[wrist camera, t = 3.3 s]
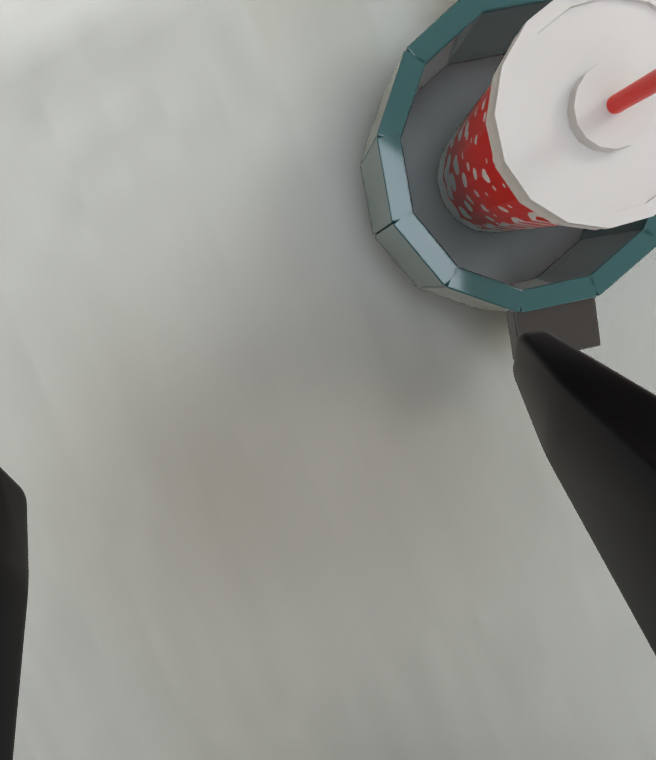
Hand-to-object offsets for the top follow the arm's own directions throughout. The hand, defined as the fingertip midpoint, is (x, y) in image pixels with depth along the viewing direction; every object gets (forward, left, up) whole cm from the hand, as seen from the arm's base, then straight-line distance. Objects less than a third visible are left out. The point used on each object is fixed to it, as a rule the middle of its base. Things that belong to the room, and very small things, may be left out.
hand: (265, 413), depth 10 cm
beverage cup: (+1, -11, -15) cm, 19 cm away
